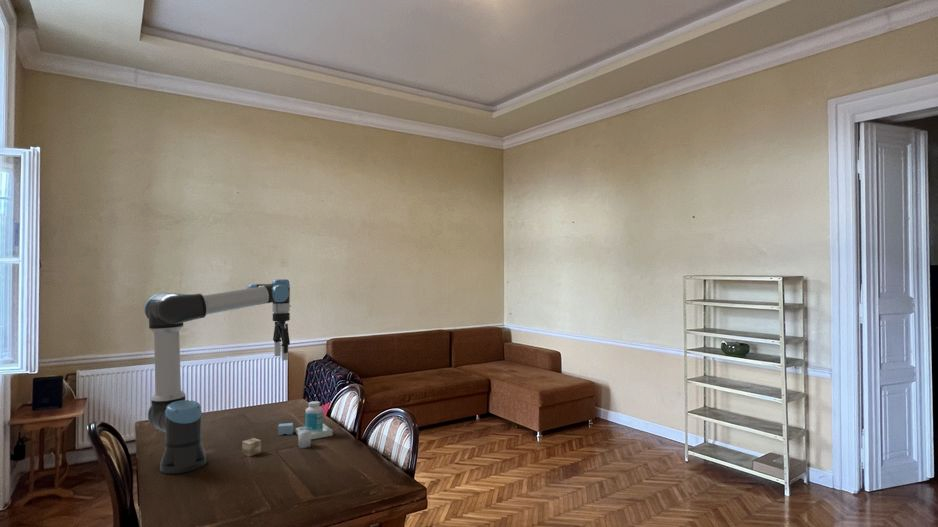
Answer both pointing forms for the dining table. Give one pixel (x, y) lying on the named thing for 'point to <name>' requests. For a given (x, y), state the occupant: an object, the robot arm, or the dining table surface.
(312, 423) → the pill bottle
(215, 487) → the dining table surface
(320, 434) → the tray
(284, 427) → the blue block
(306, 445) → the grey cylinder
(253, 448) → the oak cube
